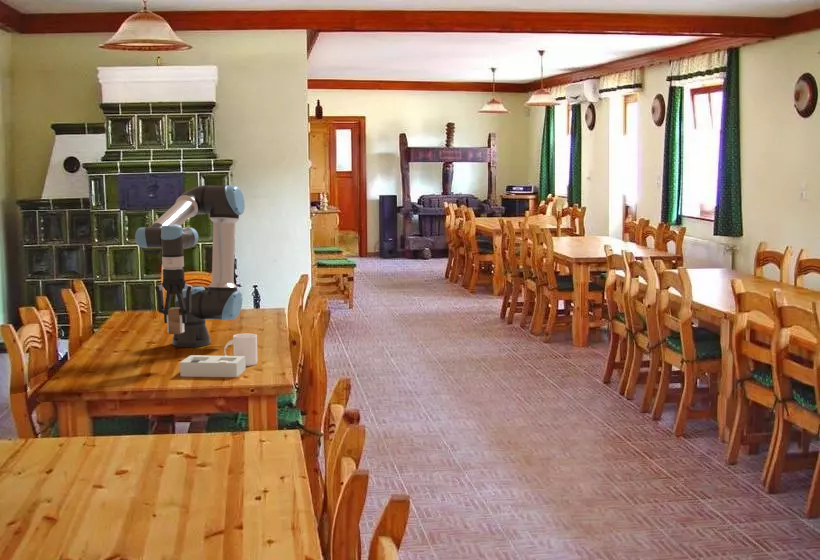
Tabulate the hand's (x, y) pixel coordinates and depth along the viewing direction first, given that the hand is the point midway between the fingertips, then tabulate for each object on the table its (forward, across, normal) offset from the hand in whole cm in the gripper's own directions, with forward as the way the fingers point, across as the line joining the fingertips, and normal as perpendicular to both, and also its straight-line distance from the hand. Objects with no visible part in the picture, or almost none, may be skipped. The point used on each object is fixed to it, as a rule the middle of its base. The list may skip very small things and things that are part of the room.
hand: (175, 331), depth 345 cm
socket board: (+13, +16, -9) cm, 22 cm away
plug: (0, 0, 0) cm, 0 cm away
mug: (+13, +22, +6) cm, 26 cm away
